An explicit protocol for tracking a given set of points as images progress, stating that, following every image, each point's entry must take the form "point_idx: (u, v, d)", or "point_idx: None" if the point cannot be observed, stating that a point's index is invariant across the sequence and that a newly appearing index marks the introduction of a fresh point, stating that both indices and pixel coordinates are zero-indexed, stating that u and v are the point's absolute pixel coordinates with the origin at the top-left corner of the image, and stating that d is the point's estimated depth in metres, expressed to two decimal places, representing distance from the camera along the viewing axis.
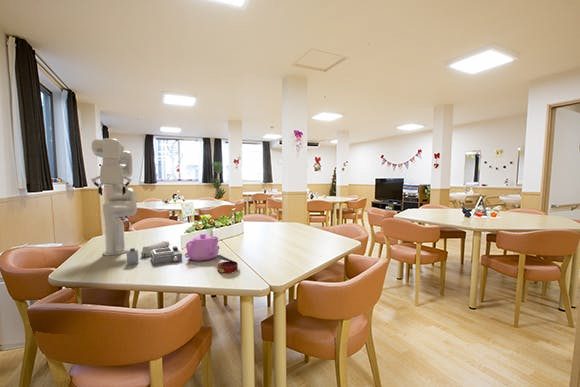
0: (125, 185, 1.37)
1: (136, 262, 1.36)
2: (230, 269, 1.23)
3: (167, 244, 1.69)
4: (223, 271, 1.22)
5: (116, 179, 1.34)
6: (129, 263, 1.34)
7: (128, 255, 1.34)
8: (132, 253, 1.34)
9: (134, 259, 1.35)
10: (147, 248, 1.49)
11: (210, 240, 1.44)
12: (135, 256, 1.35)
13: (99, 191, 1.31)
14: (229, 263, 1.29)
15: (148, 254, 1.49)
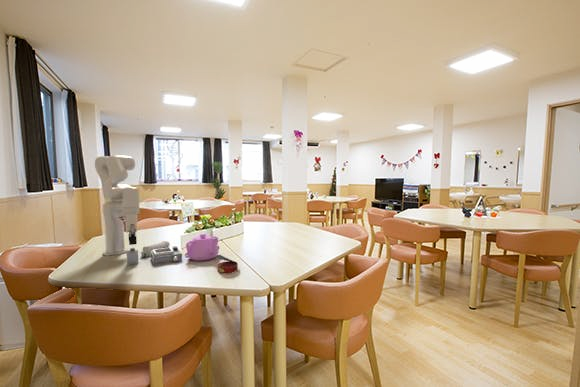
0: None
1: (136, 262, 1.36)
2: (230, 269, 1.23)
3: (167, 244, 1.69)
4: (223, 271, 1.22)
5: None
6: (129, 263, 1.34)
7: (128, 255, 1.34)
8: (132, 253, 1.34)
9: (134, 259, 1.35)
10: (147, 248, 1.49)
11: (210, 240, 1.44)
12: (135, 256, 1.35)
13: (134, 240, 1.31)
14: (229, 263, 1.29)
15: (148, 254, 1.49)
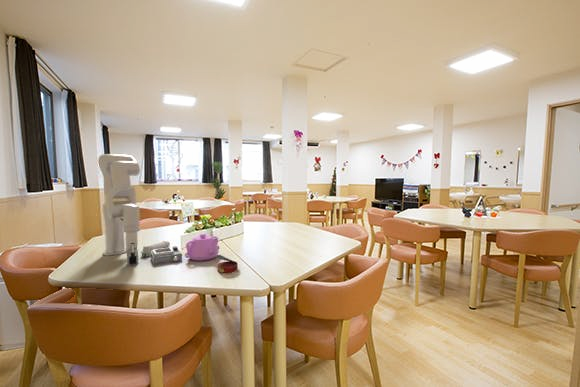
0: None
1: None
2: (230, 269, 1.23)
3: (167, 244, 1.70)
4: (223, 271, 1.22)
5: None
6: None
7: (128, 255, 1.34)
8: None
9: None
10: (147, 248, 1.49)
11: (210, 240, 1.44)
12: None
13: (134, 260, 1.34)
14: (229, 263, 1.29)
15: (148, 254, 1.49)
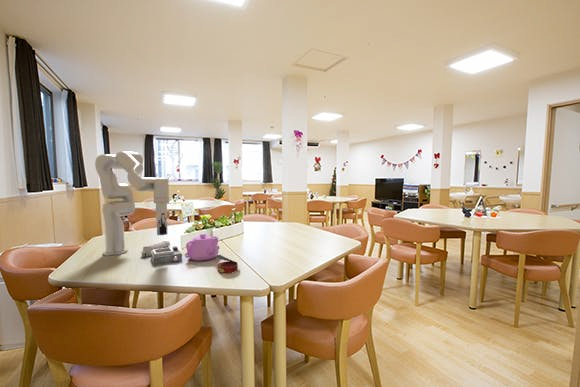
0: None
1: None
2: (230, 269, 1.23)
3: (167, 244, 1.70)
4: (223, 271, 1.22)
5: None
6: (159, 233, 1.39)
7: (158, 225, 1.39)
8: None
9: None
10: (147, 248, 1.49)
11: (210, 240, 1.44)
12: None
13: (164, 230, 1.39)
14: (229, 263, 1.29)
15: (148, 254, 1.49)
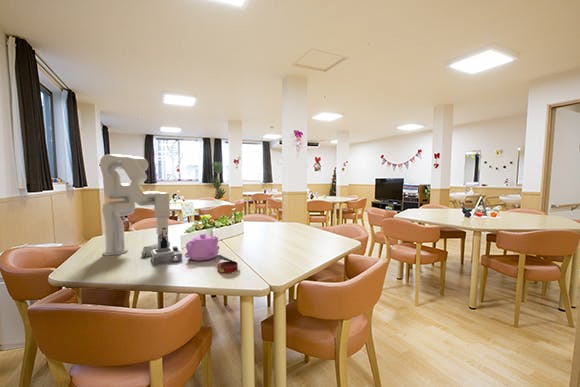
0: None
1: None
2: (230, 269, 1.23)
3: None
4: (223, 271, 1.22)
5: None
6: (160, 247, 1.40)
7: (159, 240, 1.40)
8: None
9: None
10: (148, 248, 1.49)
11: (210, 240, 1.44)
12: None
13: (165, 244, 1.40)
14: (229, 263, 1.29)
15: (149, 254, 1.49)
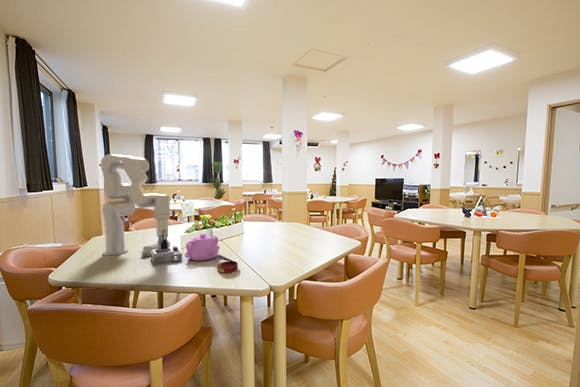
0: None
1: (166, 251, 1.42)
2: (230, 269, 1.23)
3: (168, 244, 1.70)
4: (223, 271, 1.22)
5: None
6: None
7: (159, 244, 1.40)
8: None
9: None
10: (148, 248, 1.50)
11: (210, 240, 1.44)
12: None
13: (166, 245, 1.38)
14: (229, 263, 1.29)
15: (149, 254, 1.49)
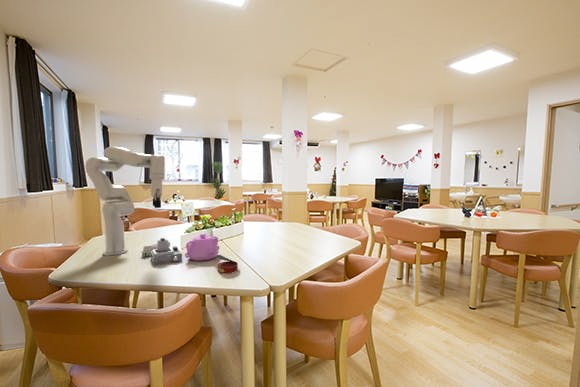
0: None
1: (166, 251, 1.42)
2: (230, 269, 1.23)
3: (168, 244, 1.70)
4: (223, 271, 1.22)
5: None
6: None
7: (159, 244, 1.40)
8: (163, 242, 1.40)
9: (164, 248, 1.41)
10: (148, 248, 1.50)
11: (210, 240, 1.44)
12: (165, 245, 1.41)
13: (159, 204, 1.42)
14: (229, 263, 1.29)
15: (149, 254, 1.50)
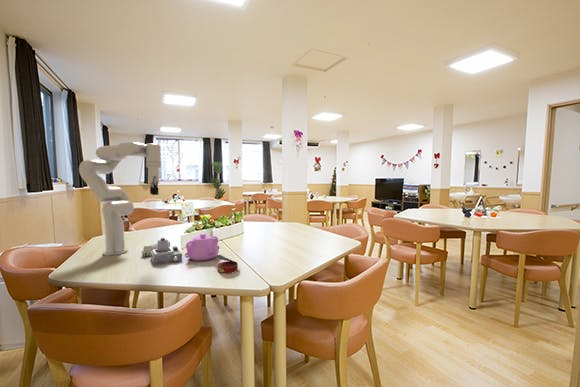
0: None
1: (166, 251, 1.42)
2: (230, 269, 1.23)
3: (168, 244, 1.70)
4: (223, 271, 1.22)
5: None
6: None
7: (159, 244, 1.40)
8: (163, 242, 1.40)
9: (164, 248, 1.41)
10: (148, 247, 1.50)
11: (210, 240, 1.44)
12: (165, 245, 1.41)
13: (156, 191, 1.45)
14: (229, 263, 1.29)
15: (149, 253, 1.50)
